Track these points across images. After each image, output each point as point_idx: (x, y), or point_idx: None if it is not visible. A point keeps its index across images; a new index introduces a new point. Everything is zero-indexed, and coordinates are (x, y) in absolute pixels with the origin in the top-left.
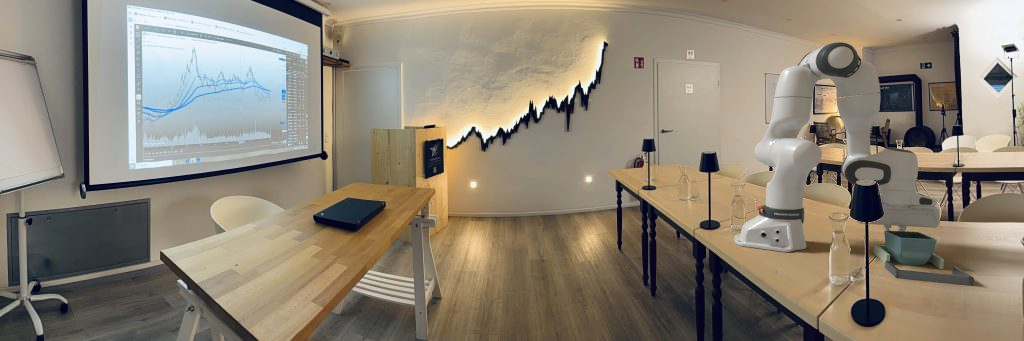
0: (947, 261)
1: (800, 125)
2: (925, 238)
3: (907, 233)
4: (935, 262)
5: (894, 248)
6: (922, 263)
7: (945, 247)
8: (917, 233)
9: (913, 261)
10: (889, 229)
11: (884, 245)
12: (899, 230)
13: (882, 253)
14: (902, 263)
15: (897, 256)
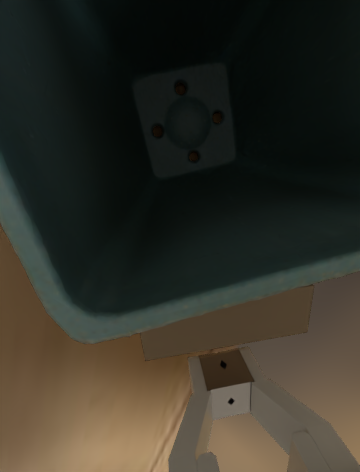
0: (3, 238)
1: None
2: (3, 73)
3: (220, 269)
4: None
5: (334, 8)
6: (128, 56)
7: (2, 439)
8: (93, 297)
9: (178, 32)
10: (292, 417)
11: None
12: (205, 440)
13: None
14: (227, 48)
15: (273, 28)
